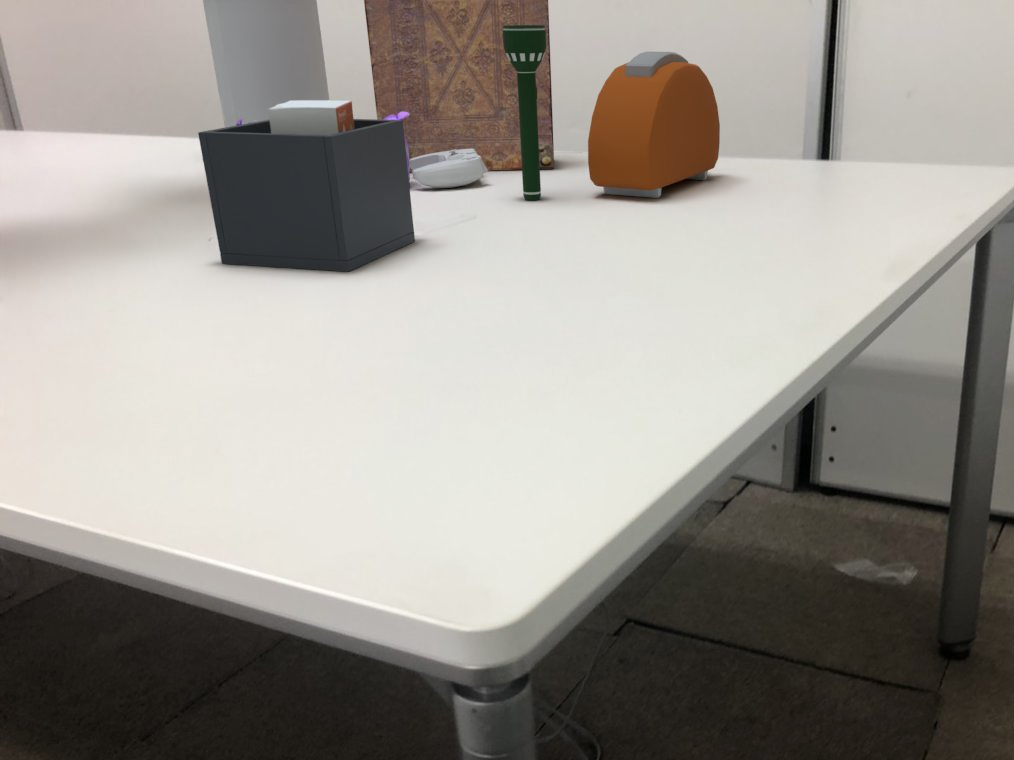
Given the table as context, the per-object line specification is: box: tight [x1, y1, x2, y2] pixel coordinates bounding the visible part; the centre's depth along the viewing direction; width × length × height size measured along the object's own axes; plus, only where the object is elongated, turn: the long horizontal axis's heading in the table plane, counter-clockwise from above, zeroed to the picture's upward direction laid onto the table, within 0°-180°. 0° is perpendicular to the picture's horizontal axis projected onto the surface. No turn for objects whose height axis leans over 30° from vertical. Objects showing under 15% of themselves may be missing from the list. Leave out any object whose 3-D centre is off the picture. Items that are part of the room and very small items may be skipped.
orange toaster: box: [587, 51, 721, 199], centre depth 132 cm, size 23×9×17 cm, turn 154°
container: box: [202, 0, 331, 128], centre depth 158 cm, size 17×17×25 cm
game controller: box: [409, 148, 489, 189], centre depth 139 cm, size 14×4×10 cm
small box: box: [268, 100, 355, 135], centre depth 98 cm, size 8×6×13 cm
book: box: [363, 0, 555, 173], centre depth 147 cm, size 25×9×30 cm, turn 96°
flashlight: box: [503, 25, 546, 201], centre depth 123 cm, size 5×5×20 cm
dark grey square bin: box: [197, 118, 416, 273], centre depth 99 cm, size 14×14×12 cm
